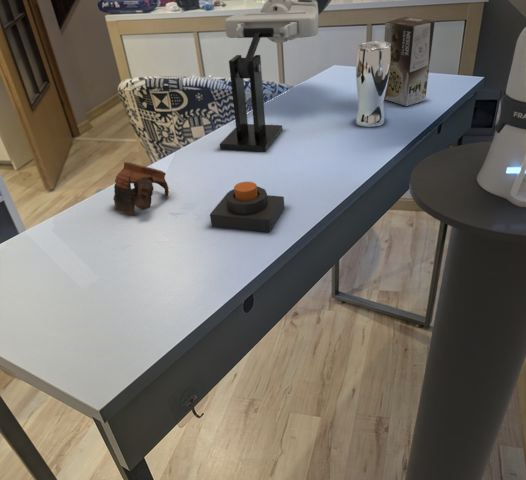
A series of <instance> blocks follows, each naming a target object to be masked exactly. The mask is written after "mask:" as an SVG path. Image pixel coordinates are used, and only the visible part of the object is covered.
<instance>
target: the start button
mask: <svg viewBox="0 0 526 480" xmlns="http://www.w3.org/2000/svg"><path fill="white" fill-rule="evenodd" d="M257 186H258V185H257V183H255V182H254V181H241V182H238V183H236V184H235V185H234V186H233V189H234V191H235V198H236V199H237V200H240V201H248V200H253V199H255V198H257V196H258V194H257Z"/></svg>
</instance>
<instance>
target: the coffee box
mask: <svg viewBox="0 0 526 480" xmlns="http://www.w3.org/2000/svg"><path fill="white" fill-rule="evenodd" d="M435 23H436V20H432V19H425V18H418V17H411V16H403V17H399V18H395V19H393V20H389V21H385V23H384V24H385V25H384V40H383V41H385V42H389V43H391V68H390V76H389V81H388V86H387V90H386V94H385V98H384V101H388V102H391V103H395V104H398V105H402V106H405V107H408V106H412V105H415V104H418V103H423V102H425V101H426V98H427V91H428V82H429V72H430V64H431V57H432V48H433V39H434V32H435Z"/></svg>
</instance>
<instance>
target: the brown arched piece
mask: <svg viewBox="0 0 526 480" xmlns="http://www.w3.org/2000/svg"><path fill="white" fill-rule="evenodd" d="M166 174H167V173H166V172H164V171H163V170H160V169H157V168H152V167H148V166H145V165H141V164H137V163H132V162H128V161H126V162H125V161H124V163H123V168H122V169H121V170H120V171H119V172H118V173H117V175H116V176H115V178H114V182H115V184H114V187H113V189H114V191H113V192H114V195H113V203H114V209H116V210H117V211H119V212H121V213H123V214H128V215H132V216H134V215H136V210H135V209H136V208H137V209H139V210H140V211H145V210H147V209H150V208H151V205H152V196H153V192H154V184H157V185H158V186H160V187H161V188H163V189H164V197H166V198H167V197H169V193H170V192H169V189H170V188H169V185H168V182H167V181H166ZM131 184H133V188H132V185H131Z"/></svg>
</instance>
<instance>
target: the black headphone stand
mask: <svg viewBox="0 0 526 480" xmlns="http://www.w3.org/2000/svg"><path fill="white" fill-rule="evenodd" d="M241 58H242V55H241V54H236V55H235V56H233V57H232V58H231V59H229V60H228V64H229V66H228V67H229V75H230V76H229V77H230V84H231V95H232V103H233V113H234V120H235V121H234V122H235V128H234V129H233V130H231V132H230V133H229V134H228V135H227V136H226V137H225V138H224V139H223V140H222V141H221V142H220V143H219V149H220V150H221V151H241V152H243V151H244V152H259V153H260V152H262V153H266V152H267V150H268V149H269V148H270V147H271V146H272V144H273V143H274V142H275V141H276V139H277V138H278V137H279V136H280V134H281V133H282V131H283V125H282V124H281V125H280V124H266V113H265V103H264V88H263V73H262V72H263V71H262V59H261V58H262V57H261V54H254V57H253V58H251V59H250V60H249V61H248V64H249V75H250V78H249V86H250V97H251V106H252V107H251V109H252V110H251V111H252V120H253V123H248V114H247V103H246V102H247V100H246V91H245V90H246V89H245V81H244V79H245V78H240V76H239V73H238V69H237V67H238V64H239V62H240V59H241Z"/></svg>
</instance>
